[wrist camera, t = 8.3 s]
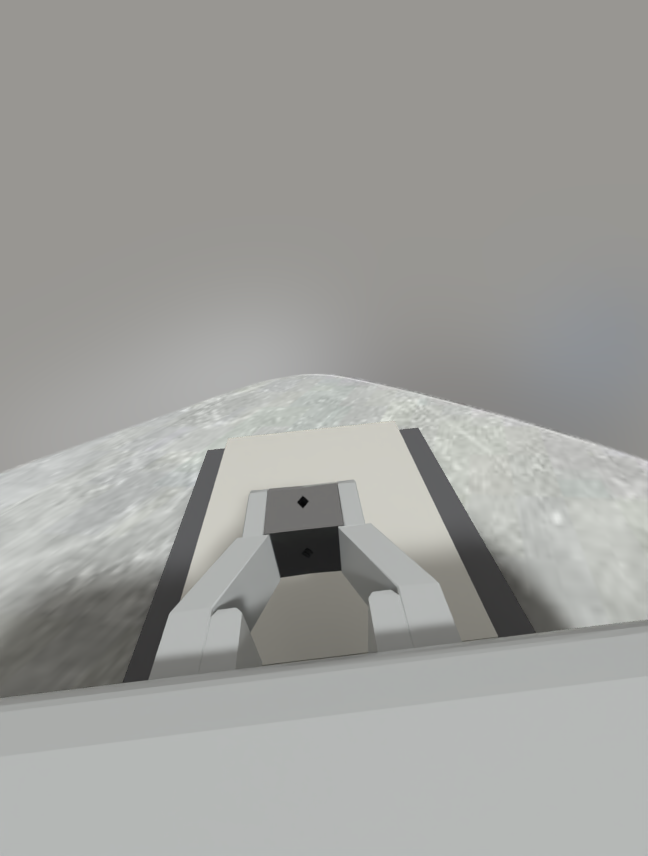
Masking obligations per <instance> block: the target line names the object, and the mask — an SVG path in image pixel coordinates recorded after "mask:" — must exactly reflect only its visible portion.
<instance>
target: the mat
mask: <svg viewBox="0 0 648 856" xmlns="http://www.w3.org/2000/svg"><path fill="white" fill-rule="evenodd" d="M399 431H400V433H401V435H402V437H403V439H404V441H405V443H406V446H407V448H408V450H409V452H410V454H411V456H412V458H413V460H414V462H415V464H416V466H417V468H418V471H419V473H420V475H421V477H422V479H423V481H424V483H425V485H426V487H427V489H428V491H429V493H430V496H431V498H432V500H433V502H434V504H435V506H436V508H437V510H438V512H439V514H440V516H441V518H442V521H443V523H444V525H445V527H446V529H447V531H448V533H449V535H450V537H451V539H452V541H453V543H454V546H455V548H456V550H457V552H458V554H459V556H460V558H461V560H462V562H463V564H464V566H465V568H466V570H467V573H468V575H469V577H470V579H471V581H472V583H473V585H474V587H475V589H476V591H477V593H478V595H479V598H480V600H481V602H482V604H483V606H484V608H485V610H486V612H487V614H488V616H489V618H490V620H491V623H492V625H493V627H494V629H495V631H496V633H497V635H498V638H499V637H508V636H516V635H524V634H532V633H536V632H535V631H534V629H533V627H532V625H531V624H530V622H529V620H528V618H527V617H526V615H525V613H524V612H523V610H522V608H521V606H520V605H519V603H518V601H517V599H516V598H515V596H514V594H513V592H512V591H511V589H510V587H509V585H508V584H507V582H506V580H505V578H504V577H503V575H502V573H501V571H500V570H499V568H498V566H497V564H496V563H495V561H494V559H493V557H492V556H491V554H490V552H489V550H488V549H487V547H486V545H485V544H484V542H483V540H482V538H481V537H480V535H479V533H478V531H477V530H476V528H475V526H474V524H473V523H472V521H471V519H470V517H469V516H468V514H467V512H466V510H465V509H464V507H463V505H462V503H461V502H460V500H459V498H458V496H457V495H456V493H455V491H454V489H453V488H452V486H451V484H450V483H449V481H448V479H447V477H446V476H445V474H444V472H443V470H442V469H441V467H440V465H439V463H438V462H437V460H436V458H435V456H434V455H433V453H432V451H431V449H430V448H429V446H428V444H427V442H426V441H425V439H424V437H423V435H422V434H421V432H420V430H419V428H412V429H403V430H399ZM224 450H225V449H215V450H208V451H207V454H206V456H205V459H204V462H203V464H202V467H201V470H200V473H199V475H198V478H197V481H196V484H195V486H194V489H193V492H192V495H191V497H190V500H189V503H188V506H187V508H186V511H185V514H184V516H183V519H182V522H181V525H180V527H179V530H178V533H177V536H176V538H175V541H174V544H173V547H172V549H171V552H170V555H169V557H168V560H167V563H166V566H165V568H164V571H163V574H162V577H161V579H160V582H159V585H158V588H157V590H156V593H155V596H154V598H153V601H152V604H151V607H150V609H149V612H148V615H147V618H146V620H145V623H144V626H143V629H142V631H141V634H140V637H139V639H138V642H137V645H136V648H135V650H134V653H133V656H132V659H131V661H130V664H129V667H128V670H127V672H126V675H125V678H124V680H123V683H128V682H136V681H145V680H148V679H149V676H150V673H151V670H152V667H153V663H154V660H155V657H156V654H157V651H158V648H159V644H160V641H161V638H162V635H163V632H164V629H165V625H166V622H167V619H168V616H169V613H170V612H171V611H172V610H173V609H174V608H175V607H176V605H177V604H178V603H179V602H180V599H181V596H182V593H183V589H184V586H185V582H186V579H187V576H188V572H189V569H190V565H191V562H192V559H193V555H194V552H195V549H196V545H197V542H198V538H199V535H200V532H201V528H202V525H203V521H204V518H205V515H206V511H207V508H208V504H209V501H210V498H211V494H212V491H213V488H214V484H215V481H216V477H217V474H218V471H219V467H220V464H221V460H222V457H223V454H224Z"/></svg>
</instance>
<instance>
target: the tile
mask: <svg viewBox="0 0 648 856" xmlns="http://www.w3.org/2000/svg"><path fill="white" fill-rule="evenodd" d="M353 479H354V480H355V481H356V486H357V490H358V494H359V498H360V503H361V507H362V511H363V516H364V520H365V524H367V523H371V524H372V525H373V526H375V527H376V528H377V529H378V530H379V531H380V532H381V533H383V534H384V535H385V536H386V537H387V538H388V539H389V540H391V541H392V542H393V543H394V544H395V545H396V546H397V547H399V548H400V549H401V550H402V551H403V552H404V553H405V554H407V555H408V556H409V557H410V558H411V559H412V560H413V561H415V562H416V563H417V564H418V565H419V566H420V567H421V568H423V569H424V570H425V571H426V572H427V573H428V574H429V575H431V576H432V577H433V578H434V579H435V580H436V581H437V582H439V584H440V587H441V589H442V592H443V594H444V597H445V600H446V602H447V605H448V607H449V610H450V612H451V615H452V617H453V620H454V622H455V625H456V628H457V630H458V633H459V635H460V638H461V640H462V642H466V641H474V640H483V639H491V638H498V635H497V633H496V631H495V629H494V627H493V625H492V623H491V620H490V618H489V616H488V614H487V612H486V610H485V608H484V606H483V604H482V602H481V600H480V598H479V595H478V593H477V591H476V589H475V587H474V585H473V583H472V581H471V579H470V577H469V575H468V573H467V570H466V568H465V566H464V564H463V562H462V560H461V558H460V556H459V554H458V552H457V550H456V548H455V546H454V543H453V541H452V539H451V537H450V535H449V533H448V531H447V529H446V527H445V525H444V523H443V521H442V518H441V516H440V514H439V512H438V510H437V508H436V506H435V504H434V502H433V500H432V498H431V496H430V493H429V491H428V489H427V487H426V485H425V483H424V481H423V479H422V477H421V475H420V473H419V471H418V468H417V466H416V464H415V462H414V460H413V458H412V456H411V454H410V452H409V450H408V448H407V446H406V443H405V441H404V439H403V437H402V435H401V433H400V431H399V429H398V427H397V425H396V423H395V421H387V422H377V423H368V424H358V425H349V426H339V427H330V428H321V429H311V430H302V431H292V432H283V433H274V434H264V435H255V436H245V437H236V438H228V440H227V443H226V447H225V450H224V454H223V457H222V460H221V464H220V467H219V471H218V474H217V477H216V481H215V484H214V488H213V491H212V494H211V498H210V501H209V504H208V508H207V511H206V515H205V518H204V521H203V525H202V528H201V532H200V535H199V538H198V542H197V545H196V549H195V552H194V555H193V559H192V562H191V565H190V569H189V572H188V576H187V579H186V582H185V586H184V589H183V593H182V596H181V599H180V601H181V600H182V599H183V598H184V596H185V595H186V594H187V593H188V592H189V591H190V590H191V589H192V587H193V586H194V585H195V584H196V583H197V582H198V581H199V580H200V578H201V577H202V576H203V575H204V574H205V573H206V572H207V571H208V569H209V568H210V567H211V566H212V565H213V564H214V563H215V562H216V560H217V559H218V558H219V557H220V556H221V555H222V554H223V553H224V551H225V550H226V549H227V548H228V547H229V546H230V545H231V544H232V542H233V541H234V540H235V539H236V538H241V537H242V533H243V527H244V521H245V515H246V508H247V502H248V496H249V493H250V491H251V490H264V489H271V488H282V487H294V486H304V485H312V484H321V483H329V482H337V481H345V480H353ZM280 579H281V580H280V582H279V584H278V585H277V587H276V589H275V591H274V592H273V594H272V596H271V598H270V599H269V601H268V603H267V605H266V606H265V608H264V610H263V612H262V613H261V615H260V617H259V619H258V620H257V622H256V624H255V626H254V627H253V629H252V631H251V636H252V638H253V641H254V643H255V646H256V648H257V651H258V653H259V656H260V658H261V661H262V666H268V665H276V664H284V663H293V662H301V661H309V660H317V659H326V658H334V657H342V656H350V655H359V654H367V653H369V652H368V606H367V604H366V603H365V602H364V601H363V599H362V598H361V597H360V595H359V594H358V593H357V591H356V590H355V589H354V588H353V586H352V585H351V584H350V582H349V581H348V580H347V579H346V577H345V576H344V575H343V573H342V571H334V572H322V573H311V574H304V575H297V576H290V577H283V578H280Z"/></svg>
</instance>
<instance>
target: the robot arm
mask: <svg viewBox="0 0 648 856" xmlns="http://www.w3.org/2000/svg"><path fill="white" fill-rule="evenodd" d="M334 571H342V573H343V575H344V576H345V577H346V579H347V580H348V581H349V582H350V584H351V585H352V586H353V588H354V589H355V590H356V591H357V593H358V594H359V595H360V597H361V598H362V599H363V601H364V602H365V603H366V604H367V606H368V652H369V653H367V654H359V655H350V656H342V657H334V658H326V659H317V660H309V661H301V662H293V663H284V664H276V665H268V666H262V661H261V658H260V656H259V653H258V651H257V648H256V646H255V643H254V641H253V638H252V636H251V631H252V629H253V627H254V626H255V624H256V622H257V620H258V619H259V617H260V615H261V613H262V612H263V610H264V608H265V606H266V605H267V603H268V601H269V599H270V598H271V596H272V594H273V592H274V591H275V589H276V587H277V585H278V584H279V582H280V580H281V579H280V578H283V577H290V576H297V575H304V574H311V573H322V572H334ZM0 856H648V620H640V621H632V622H623V623H615V624H607V625H599V626H590V627H582V628H574V629H566V630H557V631H549V632H541V633H532V634H524V635H516V636H508V637H499V638H491V639H483V640H474V641H466V642H462V640H461V638H460V635H459V633H458V630H457V628H456V625H455V622H454V620H453V617H452V615H451V612H450V610H449V607H448V605H447V602H446V600H445V597H444V594H443V592H442V589H441V587H440V584H439V582H437V581H436V580H435V579H434V578H433V577H432V576H431V575H429V574H428V573H427V572H426V571H425V570H424V569H423V568H421V567H420V566H419V565H418V564H417V563H416V562H415V561H413V560H412V559H411V558H410V557H409V556H408V555H407V554H405V553H404V552H403V551H402V550H401V549H400V548H399V547H397V546H396V545H395V544H394V543H393V542H392V541H391V540H389V539H388V538H387V537H386V536H385V535H384V534H383V533H381V532H380V531H379V530H378V529H377V528H376V527H375V526H373V525H372V524H371V523H367V524H365V520H364V516H363V511H362V507H361V503H360V498H359V494H358V490H357V486H356V481H355V480H354V479H353V480H345V481H337V482H329V483H321V484H312V485H304V486H294V487H282V488H271V489H264V490H251V491H250V493H249V496H248V502H247V508H246V515H245V521H244V527H243V533H242V537H241V538H236V539H235V540H234V541H233V542H232V544H231V545H230V546H229V547H228V548H227V549H226V550H225V551H224V553H223V554H222V555H221V556H220V557H219V558H218V559H217V560H216V562H215V563H214V564H213V565H212V566H211V567H210V568H209V569H208V571H207V572H206V573H205V574H204V575H203V576H202V577H201V578H200V580H199V581H198V582H197V583H196V584H195V585H194V586H193V587H192V589H191V590H190V591H189V592H188V593H187V594H186V595H185V596H184V598H183V599H182V600H181V601H180V602H179V603H178V604H177V605H176V607H175V608H174V609H173V610H172V611H171V612H170V613H169V616H168V619H167V622H166V625H165V629H164V632H163V635H162V638H161V641H160V644H159V648H158V651H157V654H156V657H155V660H154V663H153V667H152V670H151V673H150V676H149V679H148V680H145V681H136V682H128V683H120V684H112V685H104V686H95V687H87V688H79V689H71V690H62V691H54V692H46V693H37V694H29V695H21V696H13V697H4V698H0Z"/></svg>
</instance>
